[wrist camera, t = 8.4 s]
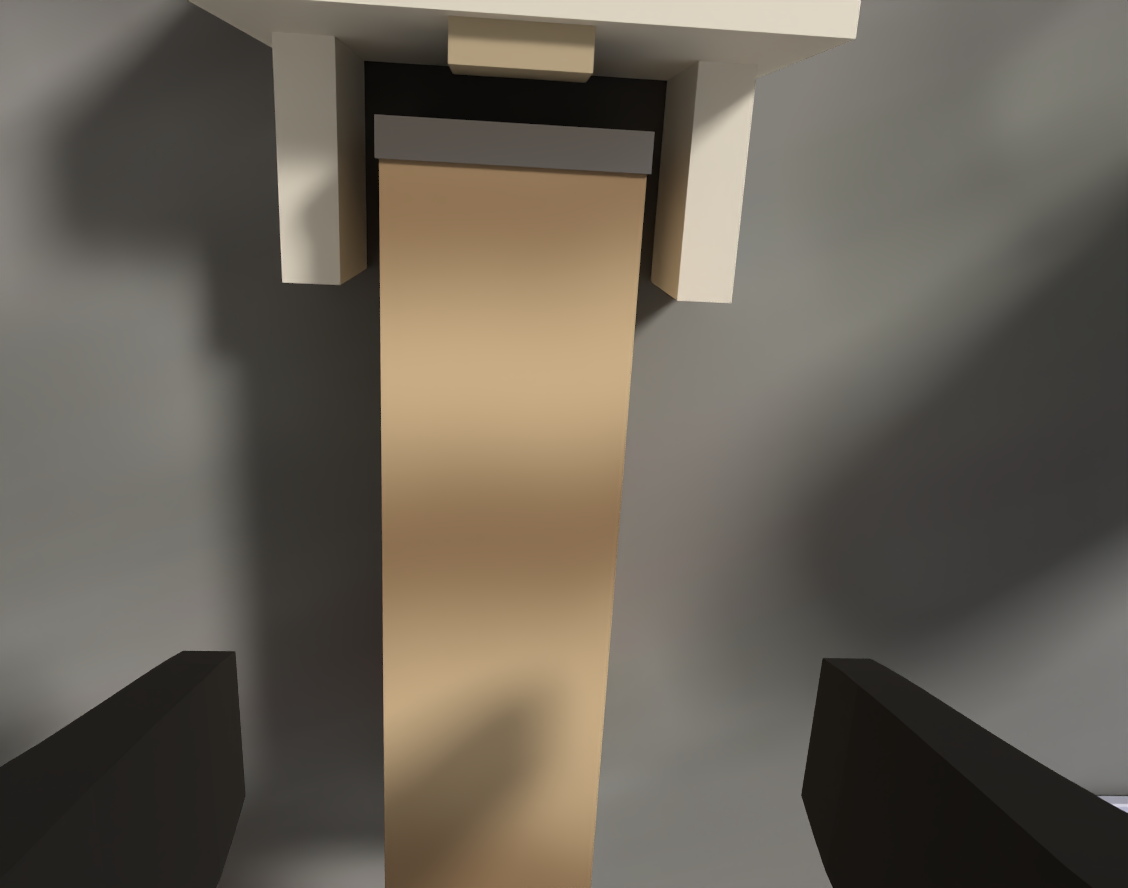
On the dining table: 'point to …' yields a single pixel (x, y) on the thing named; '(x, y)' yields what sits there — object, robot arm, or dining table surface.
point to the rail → (501, 486)
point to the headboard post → (544, 52)
